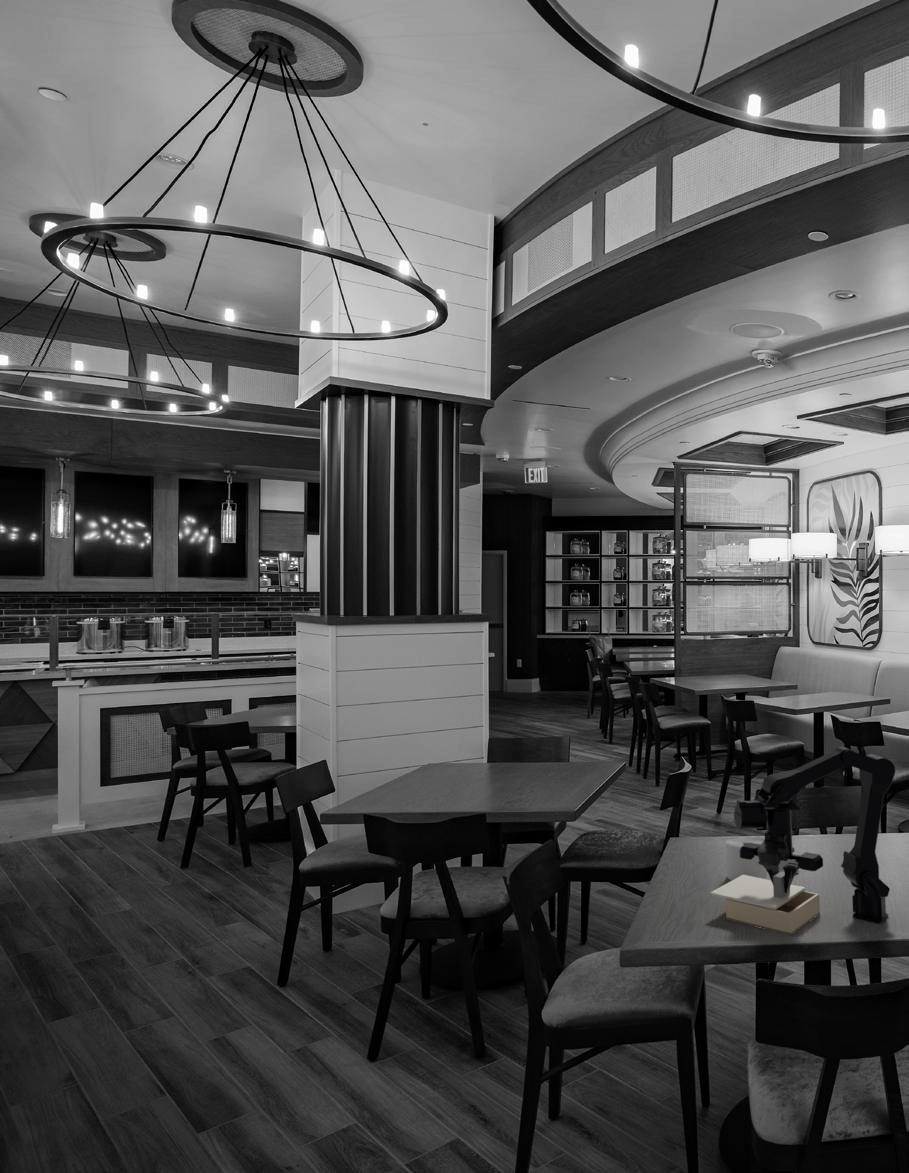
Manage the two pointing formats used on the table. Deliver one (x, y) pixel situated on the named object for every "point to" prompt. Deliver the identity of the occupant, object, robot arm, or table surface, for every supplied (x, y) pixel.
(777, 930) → the carton
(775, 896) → the carton lid
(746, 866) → the toilet tissue
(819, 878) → the table surface
